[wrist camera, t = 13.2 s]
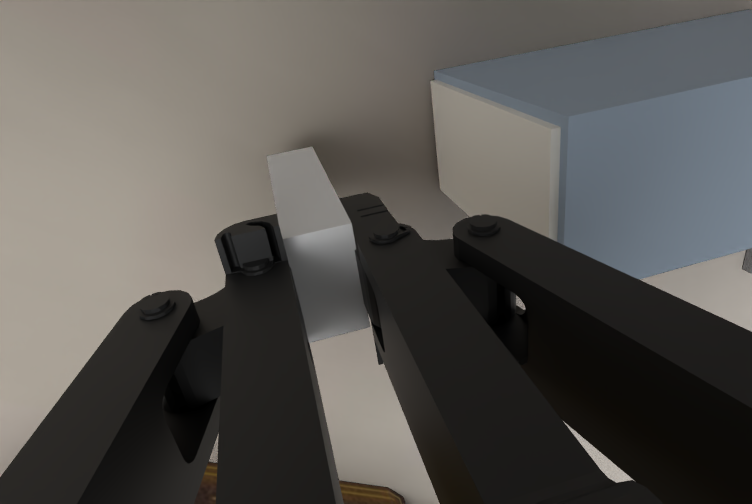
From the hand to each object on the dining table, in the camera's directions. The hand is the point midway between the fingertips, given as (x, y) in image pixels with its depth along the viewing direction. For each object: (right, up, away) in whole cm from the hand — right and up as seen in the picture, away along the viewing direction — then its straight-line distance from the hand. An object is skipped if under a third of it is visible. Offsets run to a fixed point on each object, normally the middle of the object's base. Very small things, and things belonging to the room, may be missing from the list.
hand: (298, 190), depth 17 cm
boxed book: (+12, +4, +5) cm, 13 cm away
